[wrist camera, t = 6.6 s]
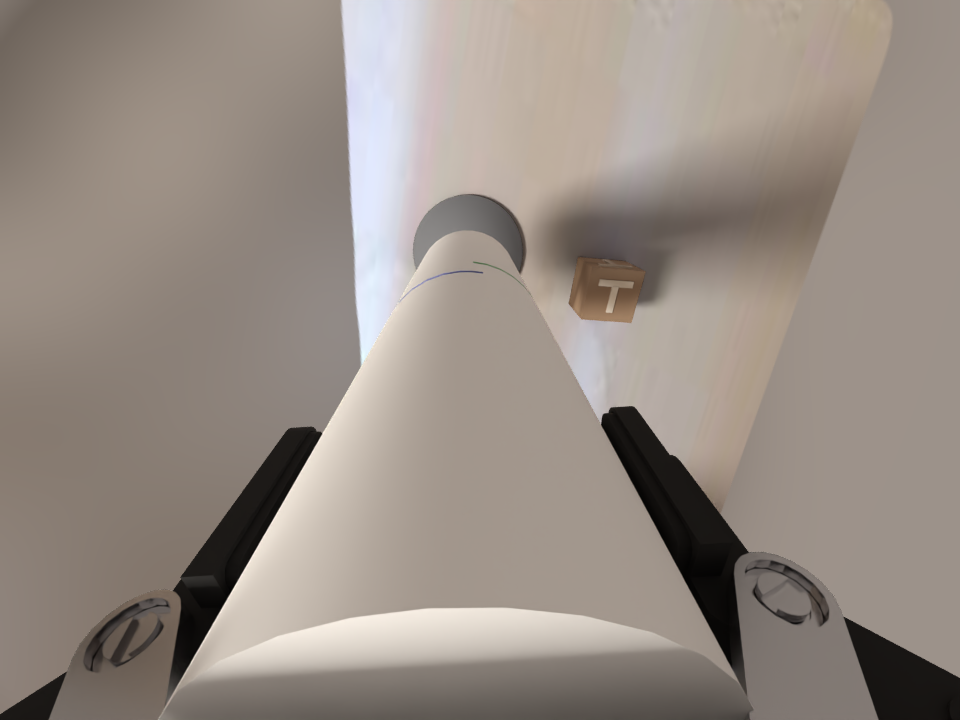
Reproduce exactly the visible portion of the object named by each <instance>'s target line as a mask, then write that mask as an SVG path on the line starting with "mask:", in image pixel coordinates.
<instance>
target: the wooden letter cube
mask: <svg viewBox="0 0 960 720" xmlns="http://www.w3.org/2000/svg"><path fill="white" fill-rule="evenodd" d="M645 273H646V271H644V270H642V269H640V268H638V267H636V266H634V265H632V264H630V263H628V262H626V261H621V260H609V259H597V258H584V257H578V260H577V265H576V270H575V275H574V280H573V285H572V290H571V295H570V300H569V305H570V306H571V307H572V308H573V310H574V311H575V312H576V313H577V315H578V316H579V317H580V318H581V319H585V320H599V321H613V322H627V323H631V322H632V319H633V315H634V312H635V308H636V304H637V301H638V297H639V294H640V290H641V287H642V283H643V280H644V276H645Z"/></svg>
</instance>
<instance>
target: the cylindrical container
mask: <svg viewBox="0 0 960 720" xmlns="http://www.w3.org/2000/svg"><path fill="white" fill-rule="evenodd" d="M752 710H754V709H753V707H752V705H751V704H750V702H749V700H748V698H747V696H746V694H745V692H744V690H743V689H742V687H741V685H740V683H739V681H738V679H737V677H736V676H735V674H734V672H733V670H732V668H731V666H730V664H729V663H728V661H727V659H726V657H725V655H724V653H723V651H722V649H721V648H720V646H719V644H718V642H717V640H716V638H715V636H714V635H713V633H712V631H711V629H710V627H709V625H708V623H707V622H706V620H705V618H704V616H703V614H702V612H701V610H700V608H699V607H698V605H697V603H696V601H695V599H694V597H693V595H692V594H691V592H690V590H689V588H688V586H687V584H686V582H685V581H684V579H683V577H682V575H681V573H680V571H679V569H678V567H677V566H676V564H675V562H674V560H673V558H672V556H671V554H670V553H669V551H668V549H667V547H666V545H665V543H664V541H663V540H662V538H661V536H660V534H659V532H658V530H657V528H656V526H655V525H654V523H653V521H652V519H651V517H650V515H649V513H648V512H647V510H646V508H645V506H644V504H643V502H642V500H641V498H640V497H639V495H638V493H637V491H636V489H635V487H634V485H633V484H632V482H631V480H630V478H629V476H628V474H627V472H626V471H625V469H624V467H623V465H622V463H621V461H620V459H619V457H618V456H617V454H616V452H615V450H614V448H613V446H612V444H611V443H610V441H609V439H608V437H607V435H606V433H605V431H604V430H603V428H602V426H601V424H600V422H599V420H598V418H597V416H596V415H595V413H594V411H593V409H592V407H591V405H590V403H589V402H588V400H587V398H586V396H585V394H584V392H583V390H582V389H581V387H580V385H579V383H578V381H577V379H576V377H575V375H574V374H573V372H572V370H571V368H570V366H569V364H568V362H567V361H566V359H565V357H564V355H563V353H562V351H561V349H560V347H559V346H558V344H557V342H556V340H555V338H554V336H553V334H552V333H551V331H550V329H549V327H548V325H547V323H546V321H545V320H544V318H543V316H542V314H541V312H540V310H539V308H538V307H537V305H536V303H535V301H534V299H533V298H532V296H531V294H530V292H529V290H528V288H527V286H526V285H525V283H524V281H523V279H522V277H521V275H520V274H519V272H518V270H517V268H516V266H515V264H514V262H513V261H512V259H511V257H510V255H509V253H508V252H507V250H506V249H505V248H504V247H503V246H502V245H501V243H499V242H498V241H497V240H495V239H494V238H493V237H491V236H489V235H486V234H484V233H481V232H477V231H467V230H463V231H457V232H453V233H451V234H448V235H445V236H444V237H442V238H441V239H439V240H438V241H436V242H435V243H434V244H433V245H432V246H431V247H430V248H429V250H428V252H427V253H426V255H425V256H424V258H423V260H422V262H421V263H420V265H419V267H418V269H417V270H416V272H415V274H414V276H413V277H412V279H411V281H410V283H409V284H408V286H407V288H406V289H405V291H404V293H403V295H402V296H401V298H400V300H399V302H398V303H397V305H396V307H395V308H394V310H393V312H392V314H391V315H390V317H389V319H388V321H387V322H386V324H385V326H384V328H383V329H382V331H381V333H380V335H379V336H378V338H377V340H376V342H375V343H374V345H373V347H372V349H371V350H370V352H369V354H368V356H367V357H366V359H365V361H364V363H363V364H362V366H361V368H360V370H359V371H358V373H357V375H356V377H355V378H354V380H353V382H352V384H351V385H350V387H349V389H348V391H347V393H346V394H345V396H344V398H343V399H342V401H341V403H340V404H339V406H338V408H337V410H336V411H335V413H334V415H333V417H332V418H331V420H330V422H329V424H328V425H327V427H326V429H325V430H324V432H323V434H322V436H321V437H320V439H319V441H318V443H317V444H316V446H315V448H314V450H313V451H312V453H311V455H310V457H309V458H308V460H307V462H306V463H305V465H304V467H303V469H302V470H301V472H300V474H299V476H298V477H297V479H296V481H295V483H294V484H293V486H292V488H291V490H290V491H289V493H288V495H287V496H286V498H285V500H284V502H283V503H282V505H281V507H280V509H279V510H278V512H277V514H276V516H275V517H274V519H273V521H272V522H271V524H270V526H269V528H268V529H267V531H266V533H265V535H264V536H263V538H262V540H261V542H260V543H259V545H258V547H257V549H256V550H255V552H254V554H253V555H252V557H251V559H250V561H249V562H248V564H247V566H246V568H245V569H244V571H243V573H242V575H241V576H240V578H239V580H238V582H237V583H236V585H235V587H234V588H233V590H232V592H231V594H230V595H229V597H228V599H227V601H226V602H225V604H224V606H223V608H222V609H221V611H220V613H219V614H218V616H217V618H216V620H215V621H214V623H213V625H212V627H211V628H210V630H209V632H208V634H207V635H206V637H205V639H204V641H203V642H202V644H201V646H200V647H199V649H198V651H197V653H196V654H195V656H194V658H193V660H192V661H191V663H190V665H189V667H188V668H187V670H186V672H185V674H184V675H183V677H182V679H181V680H180V682H179V684H178V686H177V687H176V689H175V691H174V693H173V694H172V696H171V698H170V700H169V701H168V703H167V705H166V707H165V708H164V710H163V712H162V713H161V715H160V717H159V719H158V720H744V719H745V717H746V715H747V714H748V712H749V711H752Z"/></svg>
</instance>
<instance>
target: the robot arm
mask: <svg viewBox="0 0 960 720" xmlns="http://www.w3.org/2000/svg"><path fill="white" fill-rule="evenodd" d="M601 426H602V428H603V430H604V431H605V433H606V435H607V437H608V439H609V441H610V443H611V444H612V446H613V448H614V450H615V452H616V454H617V456H618V457H619V459H620V461H621V463H622V465H623V467H624V469H625V471H626V472H627V474H628V476H629V478H630V480H631V482H632V484H633V485H634V487H635V489H636V491H637V493H638V495H639V497H640V498H641V500H642V502H643V504H644V506H645V508H646V510H647V512H648V513H649V515H650V517H651V519H652V521H653V523H654V525H655V526H656V528H657V530H658V532H659V534H660V536H661V538H662V540H663V541H664V543H665V545H666V547H667V549H668V551H669V553H670V554H671V556H672V558H673V560H674V562H675V564H676V566H677V567H678V569H679V571H680V573H681V575H682V577H683V579H684V581H685V582H686V584H687V586H688V588H689V590H690V592H691V594H692V595H693V597H694V599H695V601H696V603H697V605H698V607H699V608H700V610H701V612H702V614H703V616H704V618H705V620H706V622H707V623H708V625H709V627H710V629H711V631H712V633H713V635H714V636H715V638H716V640H717V642H718V644H719V646H720V648H721V649H722V651H723V653H724V655H725V657H726V659H727V661H728V663H729V664H730V666H731V668H732V670H733V672H734V674H735V676H736V677H737V679H738V681H739V683H740V685H741V687H742V689H743V690H744V692H745V694H746V696H747V698H748V700H749V702H750V704H751V705H752V707H753V709H754V710H752V711H749V712H748V714H747V715H746V717H745V719H744V720H960V678H959V677H957V676H955V675H953V674H951V673H949V672H948V671H946V670H944V669H942V668H940V667H938V666H936V665H934V664H932V663H930V662H929V661H927V660H925V659H923V658H921V657H919V656H917V655H915V654H913V653H911V652H909V651H907V650H906V649H904V648H902V647H900V646H898V645H896V644H894V643H893V642H890V641H889V640H886V639H885V638H883V637H881V636H879V635H877V634H875V633H874V632H872V631H870V630H868V629H866V628H864V627H862V626H860V625H858V624H856V623H855V622H853V621H851V620H849V619H847V618H845V617H843V614H842V612H841V609H840V607H839V605H838V603H837V601H836V599H835V598H834V596H833V595H832V593H831V592H830V591H829V590H828V589H827V588H826V586H825V585H824V584H823V583H822V582H821V581H820V580H819V579H817V578H816V577H815V576H814V575H813V574H811V573H810V572H809V571H808V570H806V569H804V568H803V567H801V566H799V565H798V564H796V563H795V562H793V561H791V560H788V559H786V558H783V557H781V556H778V555H775V554H770V553H765V552H750V553H749V552H748V551H747V549H746V548H745V547H744V545H743V544H742V543H741V541H740V540H739V539H738V537H737V536H736V535H735V534H734V532H733V531H732V529H731V528H730V527H729V526H728V524H727V523H726V521H725V520H724V519H723V517H722V516H721V515H720V513H719V512H718V511H717V509H716V508H715V507H714V505H713V504H712V503H711V501H710V500H709V499H708V497H707V496H706V495H705V493H704V492H703V491H702V489H701V488H700V487H699V485H698V484H697V483H696V481H695V480H694V479H693V477H692V476H691V475H690V473H689V472H688V471H687V469H686V468H685V467H684V465H683V464H682V463H681V461H680V460H679V459H678V458H677V457H675V456H673V455H669V453H668V452H667V451H666V449H665V448H664V446H663V445H662V444H661V442H660V441H659V440H658V438H657V437H656V435H655V434H654V433H653V431H652V430H651V429H650V427H649V426H648V424H647V423H646V422H645V420H644V419H643V418H642V416H641V415H640V413H639V412H638V411H637V409H636V408H635V407H633V406H627V407H612V408H610V410H609V413H604V414H603V416H602V422H601ZM321 436H322V433H321V432H317V431H316V429H315V428H314V427H299V428H290V429H288V430H287V431H286V432H285V434H284V435H283V436H282V438H281V439H280V441H279V442H278V443H277V445H276V446H275V448H274V449H273V450H272V452H271V453H270V455H269V456H268V457H267V459H266V460H265V461H264V463H263V464H262V466H261V467H260V468H259V470H258V471H257V472H256V474H255V475H254V476H253V478H252V479H251V481H250V482H249V483H248V485H247V486H246V487H245V489H244V490H243V492H242V493H241V495H240V496H239V497H238V499H237V500H236V501H235V503H234V504H233V505H232V507H231V508H230V510H229V511H228V512H227V514H226V515H225V516H224V518H223V519H222V521H221V522H220V523H219V525H218V526H217V528H216V529H215V530H214V532H213V533H212V534H211V536H210V537H209V539H208V540H207V541H206V543H205V544H204V546H203V547H202V548H201V550H200V551H199V552H198V554H197V555H196V556H195V558H194V559H193V561H192V562H191V563H190V565H189V566H188V568H187V569H186V571H185V572H184V573H183V574H182V576H181V580H180V581H179V583H178V584H177V586H176V587H175V588H174V590H173V591H170V590H166V589H165V590H164V589H163V590H154V591H150V592H147V593H145V594H141V595H139V596H137V597H135V598H133V599H131V600H129V601H127V602H125V603H123V604H122V605H121V606H119V607H118V608H116V609H115V610H113V611H112V612H111V613H109V614H108V615H107V616H106V617H105V618H103V619H102V620H101V621H100V622H99V623H98V624H97V625H96V626H95V627H94V628H93V629H92V630H91V631H90V632H89V633H88V635H87V636H86V637H85V638H84V639H83V641H82V642H81V643H80V645H79V647H78V648H77V650H76V652H75V654H74V656H73V658H72V660H71V663H70V665H69V668H68V671H67V672H65V673H64V674H62V675H61V676H59V677H58V678H56V679H55V680H53V681H51V682H50V683H48V684H47V685H45V686H44V687H42V688H41V689H39V690H37V691H36V692H34V693H33V694H31V695H29V696H28V697H26V698H25V699H23V700H22V701H20V702H19V703H17V704H15V705H14V706H12V707H11V708H9V709H8V710H6V711H5V712H3V713H2V714H0V720H158V719H159V717H160V715H161V713H162V712H163V710H164V708H165V707H166V705H167V703H168V701H169V700H170V698H171V696H172V694H173V693H174V691H175V689H176V687H177V686H178V684H179V682H180V680H181V679H182V677H183V675H184V674H185V672H186V670H187V668H188V667H189V665H190V663H191V661H192V660H193V658H194V656H195V654H196V653H197V651H198V649H199V647H200V646H201V644H202V642H203V641H204V639H205V637H206V635H207V634H208V632H209V630H210V628H211V627H212V625H213V623H214V621H215V620H216V618H217V616H218V614H219V613H220V611H221V609H222V608H223V606H224V604H225V602H226V601H227V599H228V597H229V595H230V594H231V592H232V590H233V588H234V587H235V585H236V583H237V582H238V580H239V578H240V576H241V575H242V573H243V571H244V569H245V568H246V566H247V564H248V562H249V561H250V559H251V557H252V555H253V554H254V552H255V550H256V549H257V547H258V545H259V543H260V542H261V540H262V538H263V536H264V535H265V533H266V531H267V529H268V528H269V526H270V524H271V522H272V521H273V519H274V517H275V516H276V514H277V512H278V510H279V509H280V507H281V505H282V503H283V502H284V500H285V498H286V496H287V495H288V493H289V491H290V490H291V488H292V486H293V484H294V483H295V481H296V479H297V477H298V476H299V474H300V472H301V470H302V469H303V467H304V465H305V463H306V462H307V460H308V458H309V457H310V455H311V453H312V451H313V450H314V448H315V446H316V444H317V443H318V441H319V439H320V437H321Z"/></svg>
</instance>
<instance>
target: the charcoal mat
mask: <svg viewBox="0 0 960 720" xmlns="http://www.w3.org/2000/svg"><path fill="white" fill-rule="evenodd" d="M463 230H467V231H477V232H481V233H484V234H486V235H489V236H491V237H493V238H494V239H495V240H497V241H498V242H499V243H501V245H502V246H503V247H504V248H505V249H506V250H507V252H508V253H509V255H510V257H511V259H512V261H513V262H514V264H515V266H516V268H517V270H518V272H519V270H520V267H521V263H522V254H523V249H522V241H521V236H520V233H519V230H518V228H517V226H516V224H515V222H514V221H513V219H512V218H511V216H510V215H509V214H508V213H507V212H506V211H505V210H504V209H503V208H502V207H501V206H499V205H498V204H496V203H495V202H493V201H491V200H489V199H487V198H484V197H480V196H475V195H460V196H454V197H451V198H448V199H446V200H444V201H442V202H440V203H439V204H437V205H435V206H434V207H433V208H432V209H431V210H430V211H429V212H428V213H427V214H426V215H425V216H424V218H423V219H422V221H421V223H420V225H419V227H418V229H417V231H416V235H415V239H414V244H413V256H414V263H415V267H416V270H417V269H418V267H419V265H420V263H421V262H422V260H423V258H424V256H425V255H426V253H427V252H428V250H429V248H430V247H431V246H432V245H433V244H434V243H435V242H436V241H438V240H439V239H441V238H442V237H444V236H445V235H448V234H451V233H453V232H457V231H463Z"/></svg>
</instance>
